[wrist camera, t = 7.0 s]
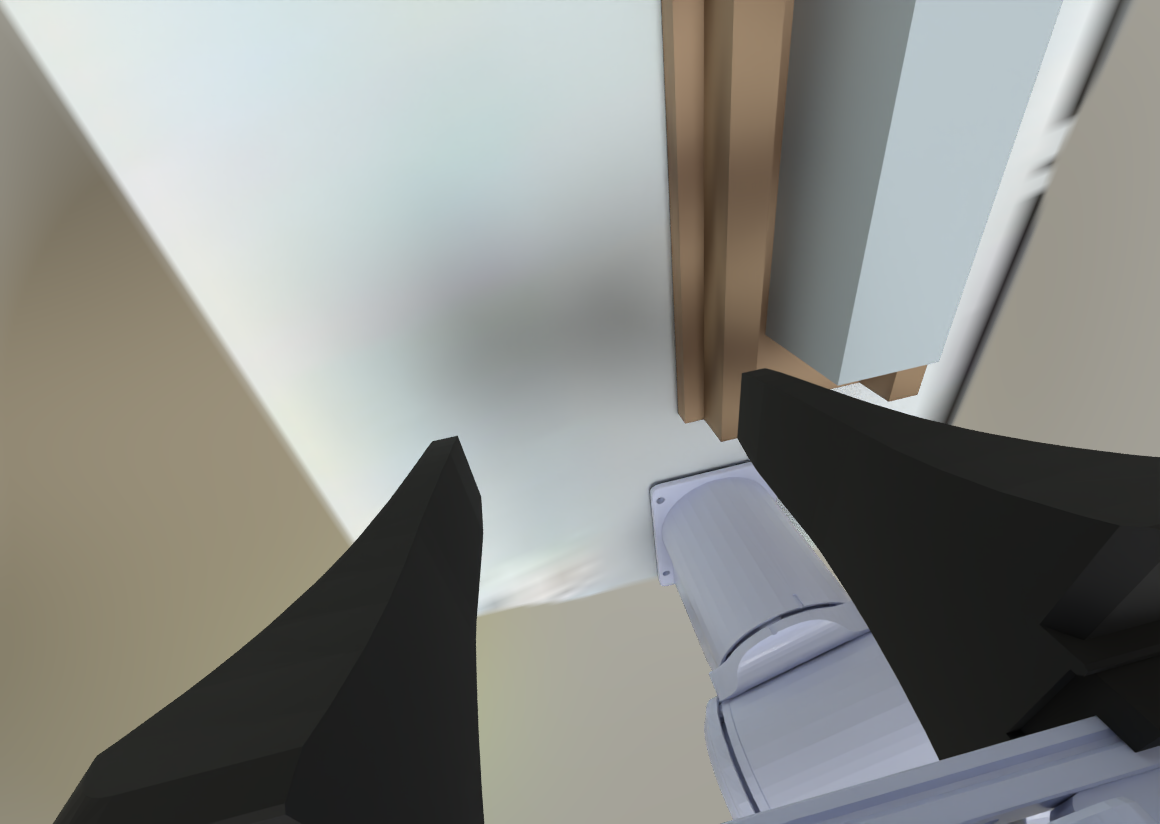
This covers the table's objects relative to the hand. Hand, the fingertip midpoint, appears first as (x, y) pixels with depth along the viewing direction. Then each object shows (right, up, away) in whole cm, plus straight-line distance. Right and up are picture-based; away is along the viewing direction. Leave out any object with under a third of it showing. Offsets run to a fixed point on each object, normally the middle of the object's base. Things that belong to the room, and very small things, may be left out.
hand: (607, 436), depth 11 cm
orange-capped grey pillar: (+9, +10, +6) cm, 14 cm away
